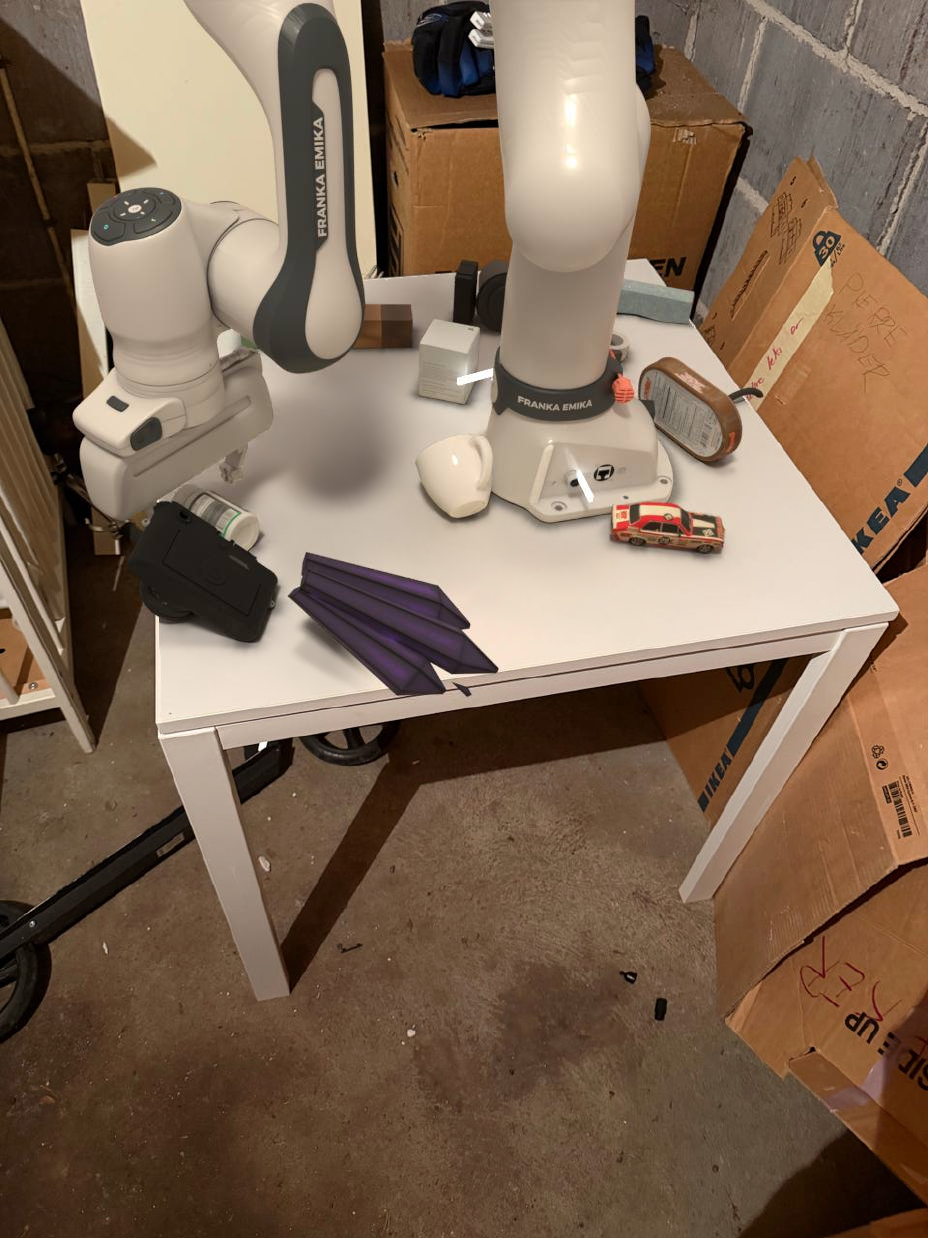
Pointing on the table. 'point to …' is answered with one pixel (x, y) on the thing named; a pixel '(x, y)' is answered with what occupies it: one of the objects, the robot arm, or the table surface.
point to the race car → (666, 526)
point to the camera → (200, 573)
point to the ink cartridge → (465, 292)
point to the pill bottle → (220, 514)
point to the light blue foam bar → (655, 301)
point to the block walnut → (397, 326)
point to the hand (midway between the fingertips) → (198, 501)
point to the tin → (691, 409)
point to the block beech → (371, 328)
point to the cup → (457, 473)
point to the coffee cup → (492, 294)
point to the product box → (448, 360)
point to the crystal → (390, 624)
